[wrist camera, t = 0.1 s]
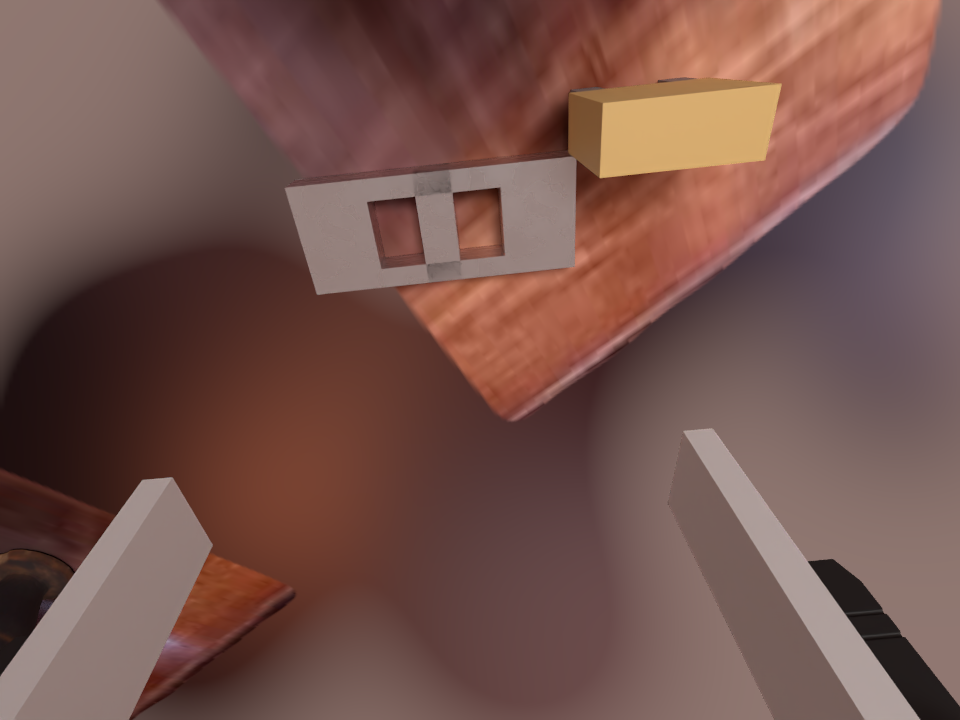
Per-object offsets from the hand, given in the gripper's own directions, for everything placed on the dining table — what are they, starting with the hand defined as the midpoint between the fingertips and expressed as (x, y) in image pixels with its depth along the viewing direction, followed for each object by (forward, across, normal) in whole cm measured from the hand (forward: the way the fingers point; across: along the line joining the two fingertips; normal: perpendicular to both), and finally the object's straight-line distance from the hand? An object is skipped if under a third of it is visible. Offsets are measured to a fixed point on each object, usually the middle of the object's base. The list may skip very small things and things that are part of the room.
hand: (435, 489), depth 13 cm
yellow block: (+28, +13, +6) cm, 31 cm away
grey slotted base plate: (+28, 0, -1) cm, 28 cm away
